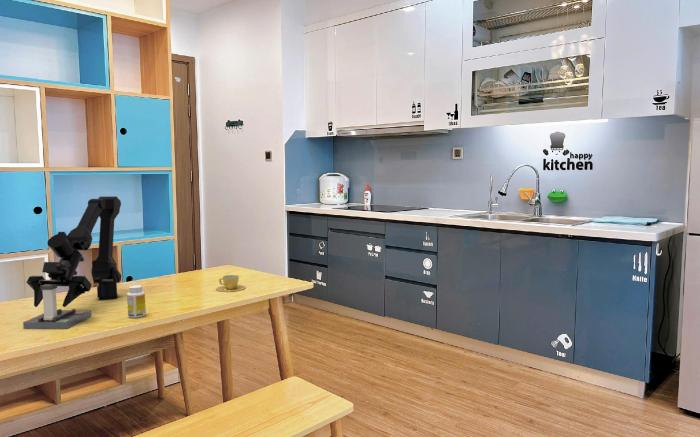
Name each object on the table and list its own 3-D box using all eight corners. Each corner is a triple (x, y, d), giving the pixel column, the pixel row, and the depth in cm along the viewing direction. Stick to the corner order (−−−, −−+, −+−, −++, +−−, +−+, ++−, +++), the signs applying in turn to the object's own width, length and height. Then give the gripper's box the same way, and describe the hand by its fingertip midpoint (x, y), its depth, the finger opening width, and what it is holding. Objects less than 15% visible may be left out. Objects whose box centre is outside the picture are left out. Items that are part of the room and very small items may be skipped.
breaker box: (51, 315, 174) (50, 307, 174) (91, 316, 173) (91, 307, 173) (23, 328, 160) (22, 319, 160) (67, 328, 159) (66, 319, 159)
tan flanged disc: (249, 286, 218) (248, 273, 217) (240, 292, 206) (240, 279, 205) (222, 285, 219) (221, 273, 219) (211, 292, 207) (211, 279, 207)
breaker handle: (48, 317, 164) (46, 284, 163) (59, 317, 164) (57, 284, 163) (42, 320, 161) (40, 286, 160) (53, 320, 161) (51, 286, 160)
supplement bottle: (147, 313, 176) (146, 284, 175) (143, 318, 171) (141, 288, 170) (131, 314, 176) (129, 284, 175) (125, 318, 170) (124, 288, 169)
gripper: (28, 251, 166) (6, 293, 156) (84, 251, 165) (66, 293, 155) (45, 270, 174) (25, 311, 164) (98, 270, 174) (82, 311, 164)
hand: (49, 306), depth 162 cm, fingers open, 9 cm apart
